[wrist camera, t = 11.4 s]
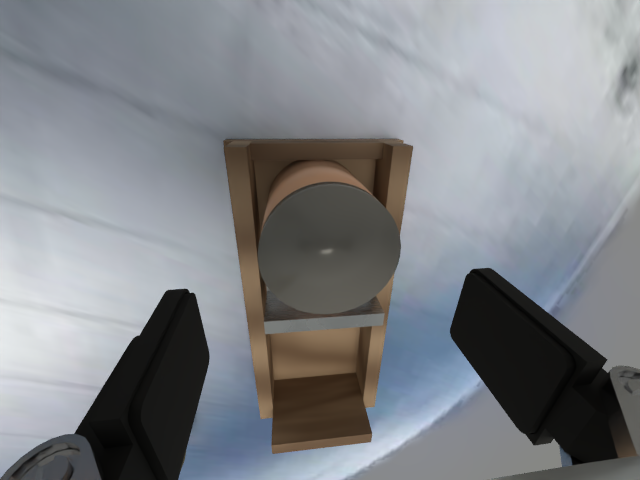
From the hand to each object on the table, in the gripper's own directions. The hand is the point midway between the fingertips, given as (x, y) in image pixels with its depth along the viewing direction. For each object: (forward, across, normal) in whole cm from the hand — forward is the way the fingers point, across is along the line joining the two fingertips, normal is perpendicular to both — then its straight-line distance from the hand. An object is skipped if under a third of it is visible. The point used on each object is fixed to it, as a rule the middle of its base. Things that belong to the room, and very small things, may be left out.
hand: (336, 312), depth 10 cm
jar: (+12, -1, 0) cm, 12 cm away
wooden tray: (+13, -1, +7) cm, 14 cm away
